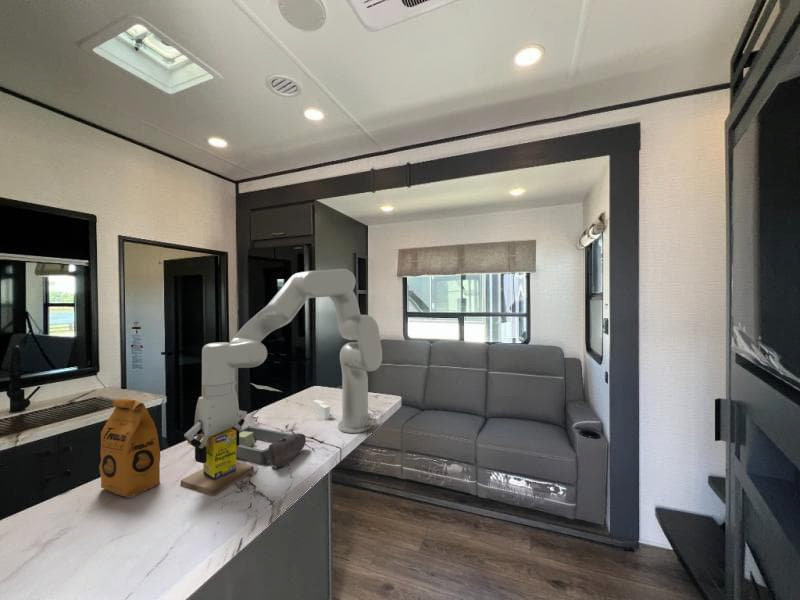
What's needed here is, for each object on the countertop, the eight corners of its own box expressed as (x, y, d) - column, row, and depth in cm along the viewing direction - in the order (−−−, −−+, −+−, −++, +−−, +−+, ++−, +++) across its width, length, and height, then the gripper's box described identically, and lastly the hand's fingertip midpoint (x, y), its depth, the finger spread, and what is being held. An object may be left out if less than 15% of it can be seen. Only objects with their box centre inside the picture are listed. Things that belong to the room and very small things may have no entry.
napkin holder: (310, 411, 134) (310, 398, 135) (336, 410, 136) (336, 397, 136) (302, 424, 120) (302, 409, 120) (332, 423, 121) (332, 408, 121)
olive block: (253, 444, 102) (253, 432, 102) (244, 449, 98) (244, 437, 98) (242, 443, 103) (242, 431, 103) (234, 448, 99) (234, 436, 99)
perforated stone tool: (299, 447, 100) (298, 425, 100) (312, 449, 98) (312, 428, 98) (261, 470, 86) (261, 445, 86) (276, 474, 84) (276, 448, 84)
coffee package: (119, 505, 71) (119, 409, 72) (94, 491, 77) (94, 402, 77) (167, 482, 80) (167, 397, 81) (141, 471, 86) (141, 392, 86)
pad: (253, 470, 86) (253, 466, 86) (213, 495, 75) (213, 490, 75) (222, 462, 90) (222, 458, 90) (180, 485, 79) (180, 480, 79)
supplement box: (213, 481, 79) (213, 438, 79) (202, 473, 82) (202, 432, 82) (237, 470, 84) (237, 430, 84) (225, 464, 87) (225, 425, 87)
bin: (294, 445, 101) (294, 434, 101) (263, 464, 89) (263, 452, 89) (248, 435, 109) (248, 425, 109) (214, 452, 97) (214, 441, 97)
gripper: (236, 380, 92) (236, 437, 92) (175, 396, 76) (175, 466, 76) (255, 382, 89) (255, 441, 89) (196, 400, 73) (196, 472, 73)
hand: (218, 453), depth 83 cm, fingers open, 9 cm apart
